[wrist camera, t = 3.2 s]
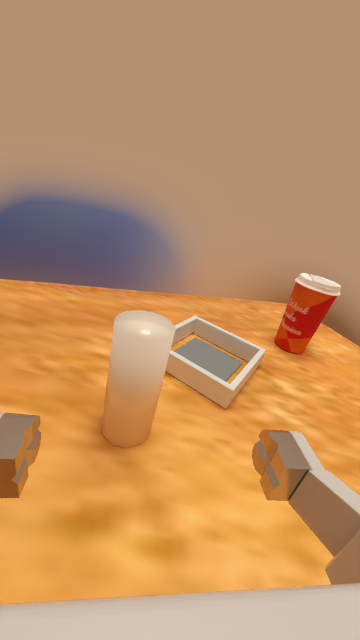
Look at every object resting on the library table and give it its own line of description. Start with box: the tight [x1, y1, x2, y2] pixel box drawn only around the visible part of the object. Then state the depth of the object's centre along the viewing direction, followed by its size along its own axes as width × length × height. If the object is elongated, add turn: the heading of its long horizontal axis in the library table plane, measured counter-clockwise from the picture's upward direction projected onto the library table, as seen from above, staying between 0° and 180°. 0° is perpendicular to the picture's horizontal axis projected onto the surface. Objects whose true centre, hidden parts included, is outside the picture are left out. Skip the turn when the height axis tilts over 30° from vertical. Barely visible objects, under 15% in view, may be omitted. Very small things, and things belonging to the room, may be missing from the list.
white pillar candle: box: [101, 310, 175, 447], centre depth 24 cm, size 5×5×12 cm
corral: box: [165, 316, 266, 409], centre depth 39 cm, size 14×14×3 cm
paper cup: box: [275, 273, 341, 354], centre depth 48 cm, size 8×8×14 cm
